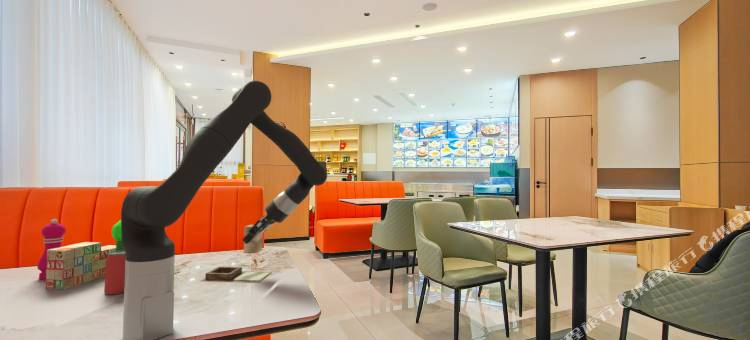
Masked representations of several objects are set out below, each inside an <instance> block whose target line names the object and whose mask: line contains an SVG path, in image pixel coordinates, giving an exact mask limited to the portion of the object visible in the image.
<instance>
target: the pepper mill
mask: <svg viewBox="0 0 750 340" xmlns="http://www.w3.org/2000/svg"><path fill="white" fill-rule="evenodd" d="M66 230H67V229H66V227H65V225H63V224H62V223H59V222H58V219H57V218H53V219H51V220H50V223H49V224H46V225H44V226H43V228H42V229H41V235H42V237H44V238H43V242H42V243H43V244H44V249H43V253H42V255H41V257H40V258H39V260H38V263H37V270H39V271H40V272H39V275H38V279H39V280H41V281H42V280H45V281H46V260H47V250H49V249H54V248H59V247H62V243H63V241H64V235H65V234H66V232H67V231H66Z"/></svg>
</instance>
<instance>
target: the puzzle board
mask: <svg viewBox="0 0 750 340" xmlns="http://www.w3.org/2000/svg"><path fill="white" fill-rule="evenodd" d="M272 274H273V271H247V270H245V271H243V267H242V266H218V267H215V268H213V269H212V270H209V271H208V272H207V271H206V273H205V277H204V278H203V279H201V280H200V282H211V283H213V282H215V283H217V282H218V283H219V282H220V283H246V284H247V283H251V284H261V283H262V281H264V280H265V279H267V278H268V277H269V276H271V275H272Z"/></svg>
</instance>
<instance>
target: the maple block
mask: <svg viewBox="0 0 750 340" xmlns="http://www.w3.org/2000/svg"><path fill="white" fill-rule="evenodd" d="M253 226H254V224H249V225H245V226H244V228H243V229H244V231H243V235H244V237H245V236H246V235H247V234H248V233H249V232H248V231H249V230H250V229H251V228H252V227H253ZM261 230H262V228H261ZM253 231H254V232H256V231H255V230H253ZM244 237H243V238H244ZM243 243H244V244H243V253H244V254H258V253H260V252H262V251H263V233H262V232H260V233H258V234H257V236H255V237H254V238H253V239H252V240H251V241H250V242H249V243H247V244H246V243H245V242H244V241H243Z"/></svg>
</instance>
